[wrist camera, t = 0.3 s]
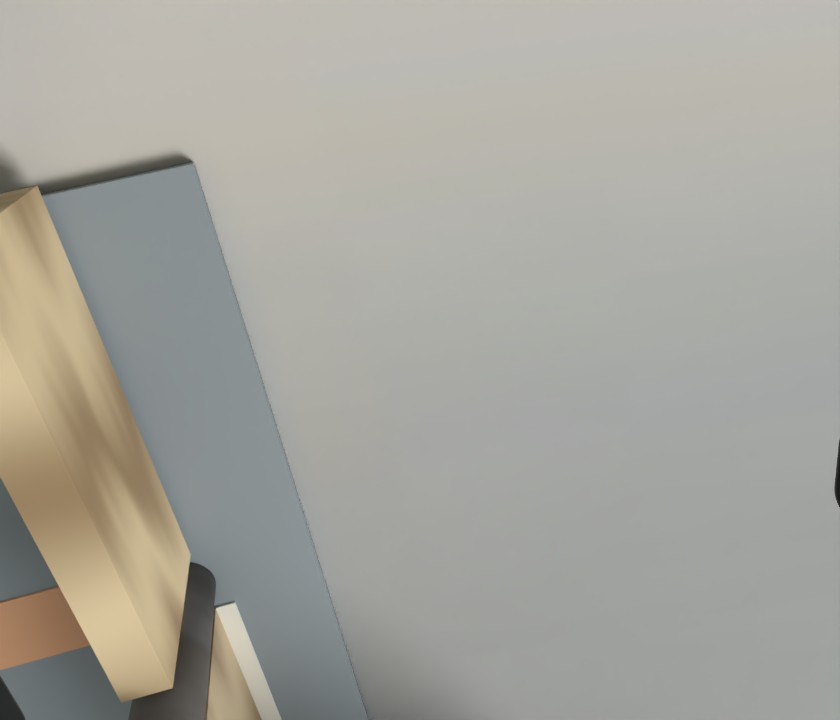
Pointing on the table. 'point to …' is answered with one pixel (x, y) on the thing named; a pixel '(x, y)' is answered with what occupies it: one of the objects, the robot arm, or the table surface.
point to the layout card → (181, 465)
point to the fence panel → (83, 461)
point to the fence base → (201, 665)
